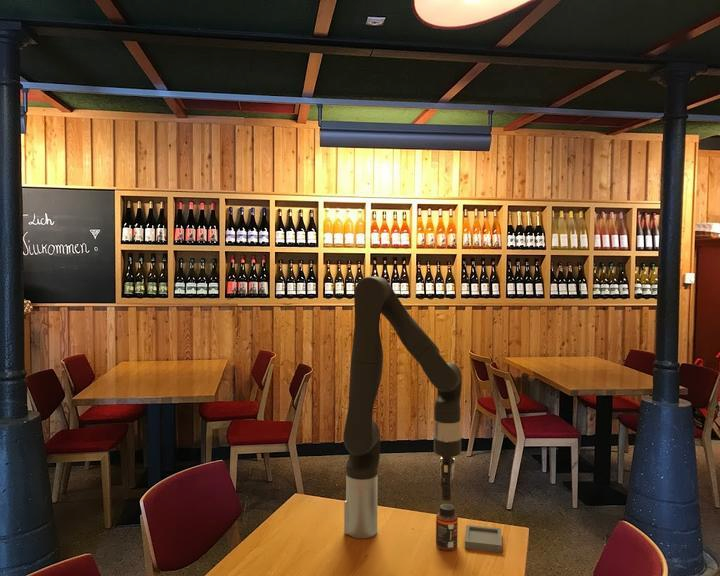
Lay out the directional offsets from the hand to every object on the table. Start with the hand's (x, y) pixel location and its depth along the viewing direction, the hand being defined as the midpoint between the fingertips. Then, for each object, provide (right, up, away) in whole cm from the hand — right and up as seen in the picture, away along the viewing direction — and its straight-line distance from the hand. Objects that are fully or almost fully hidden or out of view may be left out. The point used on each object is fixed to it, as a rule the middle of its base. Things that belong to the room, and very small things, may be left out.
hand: (447, 493), depth 154 cm
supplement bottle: (0, -15, +1) cm, 15 cm away
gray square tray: (+11, -15, +3) cm, 19 cm away
